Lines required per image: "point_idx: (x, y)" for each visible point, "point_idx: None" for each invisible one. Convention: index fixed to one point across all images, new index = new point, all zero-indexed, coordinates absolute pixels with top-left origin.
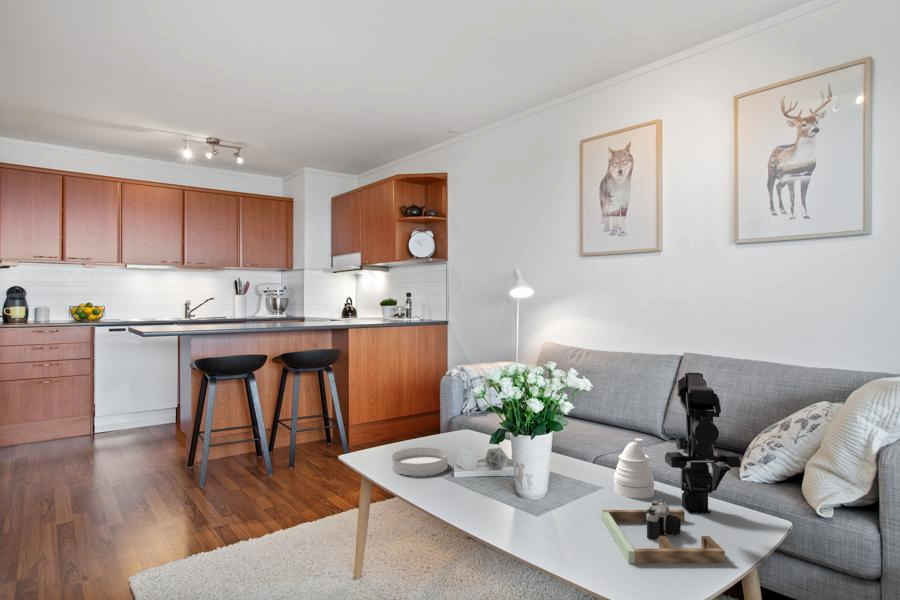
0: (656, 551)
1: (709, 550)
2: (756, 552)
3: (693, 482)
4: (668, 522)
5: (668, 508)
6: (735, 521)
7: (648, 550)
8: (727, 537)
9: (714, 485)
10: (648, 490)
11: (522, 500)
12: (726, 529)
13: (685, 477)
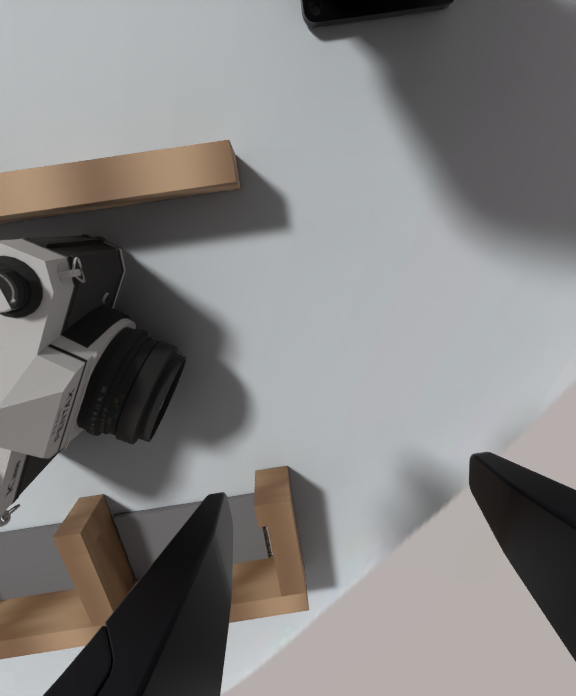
0: (42, 652)
1: (252, 614)
2: (455, 476)
3: (218, 690)
4: (97, 434)
5: (75, 378)
6: (543, 136)
7: (10, 652)
8: (402, 360)
9: (511, 547)
10: None
11: None
12: (438, 265)
13: (100, 634)
